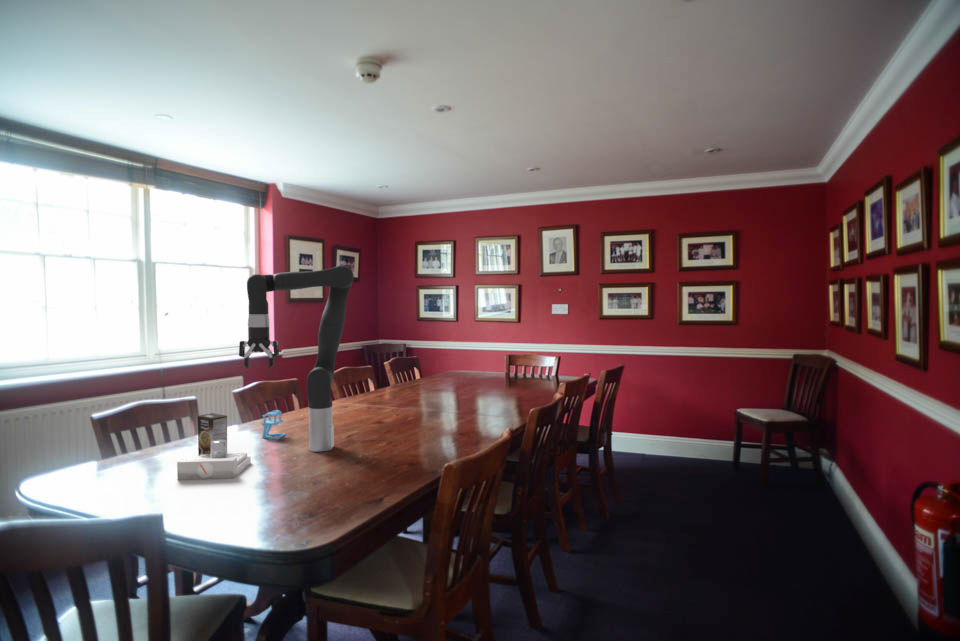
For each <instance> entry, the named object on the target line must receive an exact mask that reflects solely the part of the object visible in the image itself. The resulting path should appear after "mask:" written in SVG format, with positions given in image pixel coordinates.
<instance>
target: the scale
mask: <svg viewBox="0 0 960 641" xmlns="http://www.w3.org/2000/svg"><path fill="white" fill-rule="evenodd" d="M251 461H252V459H251V456H250V455H249V456H248V455H247V457H246V458H245V459H244V460H242V461H241V462H240V463H239V464H238V465H237V458H213V459H195V458H190V459H189V458H187V459H184V458H181V459H180V460H178V461H176V465H177V466H176V468H177V470H176V472H177V475H176V476H177V481H186V480H187V481H189V480H213V479H214V480H216V479H217V480H218V479H235V477H237V476H238V475H239V474H240V473H241V472H242V471H244V470H245V469H246V468H247V467H248V466H249V465H250V464H251Z"/></svg>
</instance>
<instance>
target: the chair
mask: <svg viewBox="0 0 960 641" xmlns="http://www.w3.org/2000/svg"><path fill="white" fill-rule="evenodd" d="M282 413H283V412H282V410H279V409H274V410H271V411H269V412H267V413H265V414H262V418H263V422H261V425H262V426H263V429H262V436H261V438H262V439H268V440H269V439H270V440H276V441H277V440H279V439H281V438H283V437H285V436H286V432H281V433H278V432H277V433H270V431H271V429H272V427H273V426H277V425H279V424H281V423H283V422H284V420H283V419H282V418H281V416H282ZM267 416H268V419H266V417H267ZM271 417H273V419H272V418H271ZM277 417H278V419H277Z"/></svg>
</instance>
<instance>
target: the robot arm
mask: <svg viewBox="0 0 960 641" xmlns="http://www.w3.org/2000/svg"><path fill="white" fill-rule="evenodd" d="M354 278H355V276H354V271H353V270H352V269H351V268H350V267H348V266H346V265H341V264H340V265H337V266H335V267H331V268H326V269H322V270H321V269H319V270H312V271H311V270H310V271H309V270H308V271H288V272H287V271H285V272H278V273H275V274H274V273H272V274H258V273H254V274H252V275H250V276H249V277H248V278H247V281H246V291H247V298H248V318H247V321H248V322H247V327H248V328H247V332H248V335H247V338H248V340H246V341H245V340H241V341H239V346H238V356H239V357H242V358H244V359H243V360H244V367H245V368H246V369H248V368H251V358H250V356H251V355H252V354H253V353H258V352H259V353H265V354H266V355H267V356H268V357H269V358H268V367H269V368H273V366H275V358H276V357H279V355H280V347H279V341H278V340H272V341H271V340H270V317H269V302H268V300H267V299H268V298H267V297H268V296H267V293H271V292H276V291H278V292H279V291H284V292H285V291H292V290H295V291H296V290H303V289H309V288H310V289H311V288H315V287H316V288H317V287H329V291H328V293H329V294H328V297H327V301H326V303H325V307H324V309H323V312H322V314H321V318H320V322H319V329H318V332H317V356H316V360H315V363H314V366H313V369H312V370H310V371H309V372H308V374H307V378H306V399H307V404H308V450H309V452H315V453H316V452H325V451H332V450H333V448H334V447H335V435H334V434H335V432H334V431H335V430H334V429H335V427H334V426H335V424H334V423H333V398H332V393H331V392H332V391H331V390H332V388H331V384H332V383H333V381H334V378H335V377H334V376H335V366H336V356H337V354H338V350H339V348H340V343H341V339H342V335H343V331H344V326H345V321H346V320H345V319H346V311H347V310H346V308H347V306H346V305H347V299H348V296H349V292H350V289H351V287H352V283H353V282H354ZM270 345H271V347H273V352H272V350H271V349H270ZM247 346H248V347H249V349H248V350H247V351H246V347H247Z"/></svg>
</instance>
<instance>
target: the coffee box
mask: <svg viewBox="0 0 960 641" xmlns="http://www.w3.org/2000/svg"><path fill="white" fill-rule="evenodd" d="M197 434H198V435H197V442H198V443H197V445H198V450H197V451H198V456H200V455H201V454H211V441H214V440H227V441H228V415H227V414H226V415H225V414H220V413H213V412H211V413H206V414H200V415H197ZM226 454H228V451H227V452H226ZM198 456H197V457H198Z"/></svg>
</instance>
